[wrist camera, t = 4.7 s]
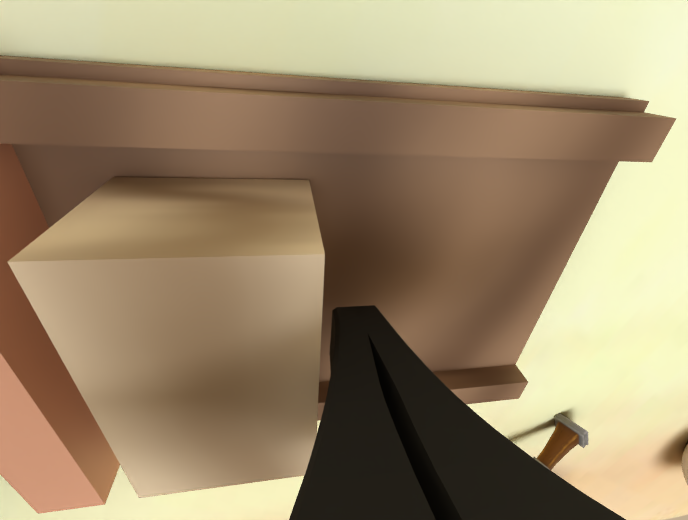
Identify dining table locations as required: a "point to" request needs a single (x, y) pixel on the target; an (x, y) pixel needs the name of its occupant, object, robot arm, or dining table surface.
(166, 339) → the block
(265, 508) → the dining table surface
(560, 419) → the wooden post with brackets
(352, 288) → the wooden tray
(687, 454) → the black penguin toy
